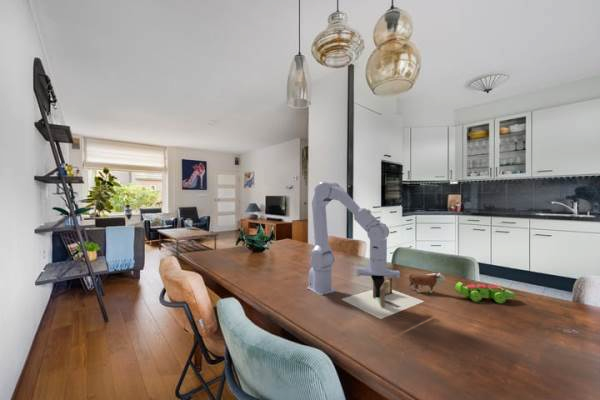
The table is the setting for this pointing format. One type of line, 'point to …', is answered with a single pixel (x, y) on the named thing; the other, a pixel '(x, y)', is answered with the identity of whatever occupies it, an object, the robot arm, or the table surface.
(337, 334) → the table surface
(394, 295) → the board
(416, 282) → the bull figurine
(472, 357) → the table surface
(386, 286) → the fixed fence
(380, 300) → the hinged panel
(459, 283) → the toy crocodile
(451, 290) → the table surface
